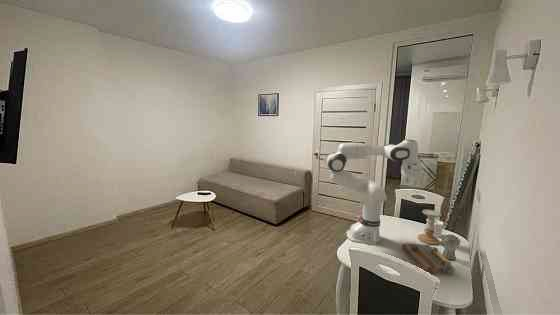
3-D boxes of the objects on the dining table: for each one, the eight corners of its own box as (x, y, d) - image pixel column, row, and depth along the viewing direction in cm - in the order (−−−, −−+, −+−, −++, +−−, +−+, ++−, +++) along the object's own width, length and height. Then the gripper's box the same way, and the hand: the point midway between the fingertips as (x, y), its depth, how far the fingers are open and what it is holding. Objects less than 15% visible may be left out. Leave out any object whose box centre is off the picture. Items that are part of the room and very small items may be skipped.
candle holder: (443, 246, 139) (447, 217, 136) (422, 244, 141) (425, 215, 138) (433, 236, 151) (437, 209, 148) (414, 234, 153) (417, 208, 150)
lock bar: (430, 252, 125) (430, 247, 125) (435, 252, 125) (436, 247, 124) (444, 266, 112) (445, 261, 112) (450, 266, 112) (451, 261, 112)
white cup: (442, 239, 148) (444, 225, 146) (428, 235, 152) (430, 222, 150) (441, 234, 154) (442, 221, 153) (428, 231, 158) (429, 218, 157)
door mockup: (421, 273, 114) (422, 262, 113) (402, 249, 135) (402, 239, 134) (453, 275, 112) (455, 264, 111) (428, 250, 134) (429, 241, 133)
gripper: (398, 161, 150) (398, 180, 152) (412, 167, 130) (412, 189, 132) (408, 161, 149) (408, 180, 151) (423, 167, 129) (423, 189, 131)
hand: (410, 184), depth 141 cm, fingers open, 8 cm apart
